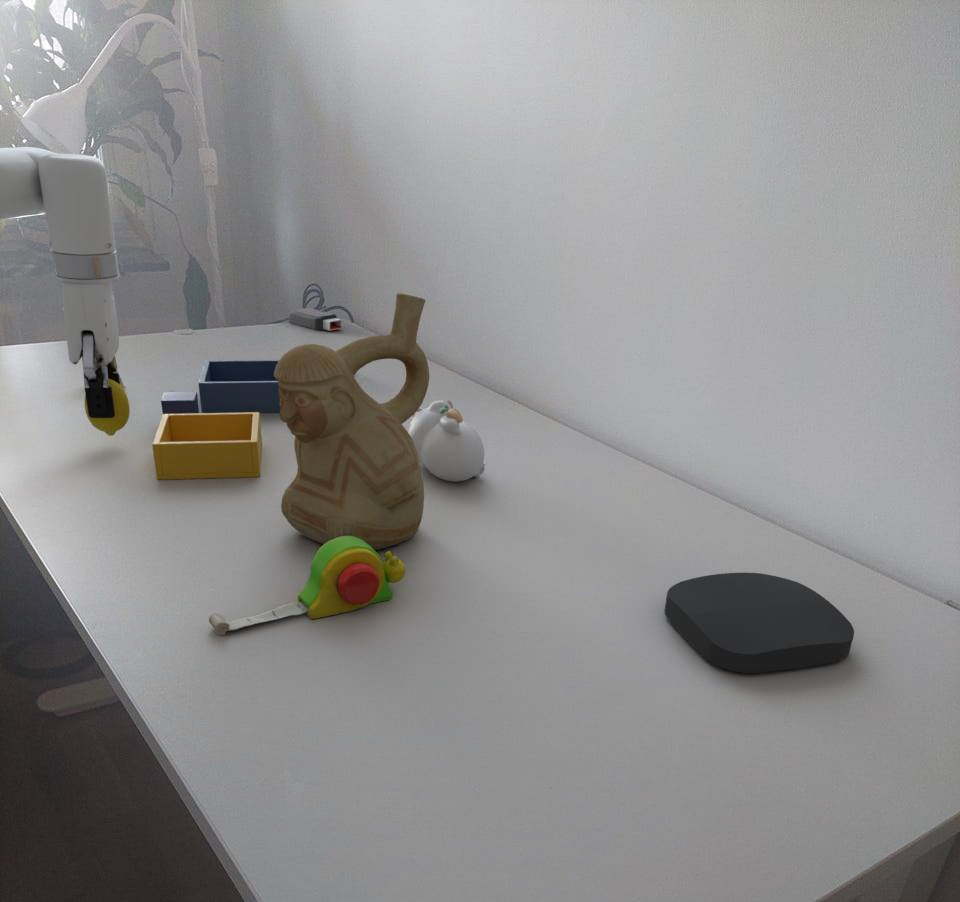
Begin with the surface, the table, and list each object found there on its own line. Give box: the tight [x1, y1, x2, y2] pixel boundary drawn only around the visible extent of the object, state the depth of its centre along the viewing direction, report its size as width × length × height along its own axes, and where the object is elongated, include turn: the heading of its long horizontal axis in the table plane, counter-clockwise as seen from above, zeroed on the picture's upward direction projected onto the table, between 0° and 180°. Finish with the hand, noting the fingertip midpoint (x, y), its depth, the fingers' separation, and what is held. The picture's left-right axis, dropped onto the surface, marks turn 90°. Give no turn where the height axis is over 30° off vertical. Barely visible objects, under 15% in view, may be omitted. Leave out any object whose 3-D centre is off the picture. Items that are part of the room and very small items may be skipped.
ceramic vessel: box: [274, 292, 430, 551], centre depth 102 cm, size 17×20×25 cm
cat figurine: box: [407, 399, 486, 483], centre depth 125 cm, size 10×8×15 cm
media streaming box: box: [664, 572, 855, 674], centre depth 91 cm, size 15×15×3 cm
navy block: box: [160, 391, 200, 415], centre depth 138 cm, size 4×4×4 cm
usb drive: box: [288, 307, 343, 332], centre depth 198 cm, size 5×12×3 cm, turn 47°
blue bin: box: [197, 359, 281, 414], centre depth 150 cm, size 14×14×5 cm
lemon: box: [84, 379, 131, 437], centre depth 128 cm, size 6×6×8 cm
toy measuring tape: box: [208, 536, 407, 636], centre depth 91 cm, size 6×19×7 cm, turn 120°
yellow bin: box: [151, 412, 263, 481], centre depth 126 cm, size 13×13×5 cm
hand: (105, 408), depth 128 cm, fingers closed on lemon, 5 cm apart
